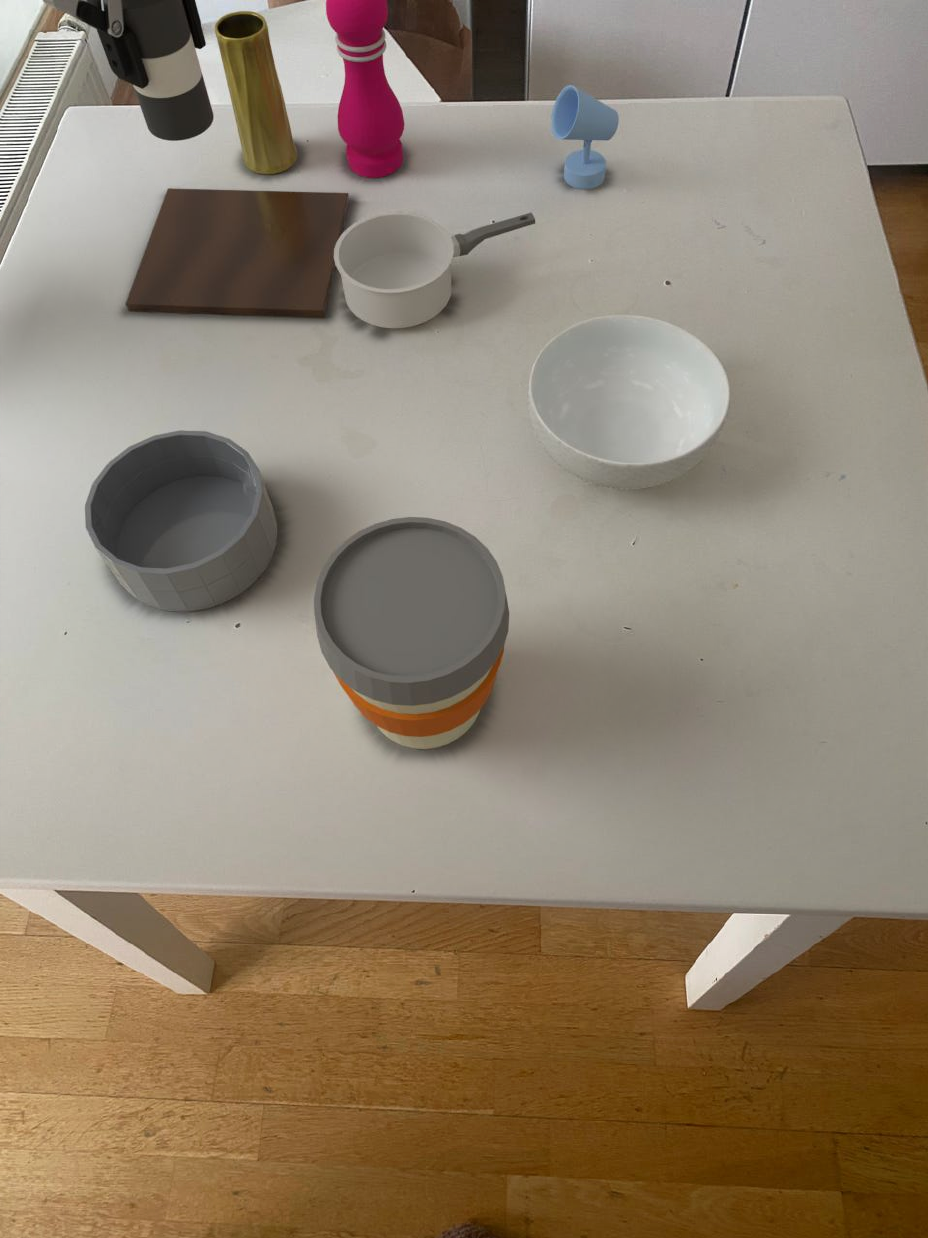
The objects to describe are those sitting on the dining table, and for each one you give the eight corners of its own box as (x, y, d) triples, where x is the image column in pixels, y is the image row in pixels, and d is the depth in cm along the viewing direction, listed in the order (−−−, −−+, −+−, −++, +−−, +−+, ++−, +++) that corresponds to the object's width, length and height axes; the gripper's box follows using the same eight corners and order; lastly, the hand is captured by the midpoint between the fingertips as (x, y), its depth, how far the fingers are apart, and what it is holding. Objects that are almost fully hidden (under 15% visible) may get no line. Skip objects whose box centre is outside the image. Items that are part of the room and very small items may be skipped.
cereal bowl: (635, 550, 75) (648, 499, 69) (487, 447, 80) (486, 392, 74) (750, 432, 80) (772, 375, 74) (604, 344, 86) (613, 284, 80)
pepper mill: (334, 151, 102) (302, -49, 84) (393, 134, 103) (373, -66, 86) (356, 188, 99) (327, -12, 81) (417, 170, 100) (401, -31, 82)
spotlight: (558, 197, 97) (618, 183, 98) (565, 106, 88) (630, 92, 89) (543, 170, 99) (601, 157, 100) (548, 78, 90) (611, 65, 91)
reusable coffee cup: (503, 620, 72) (505, 510, 59) (510, 769, 66) (515, 684, 53) (347, 625, 72) (314, 516, 59) (339, 775, 66) (302, 690, 53)
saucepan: (551, 299, 89) (555, 252, 84) (359, 350, 87) (351, 305, 82) (511, 228, 95) (513, 180, 90) (329, 274, 92) (320, 227, 87)
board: (128, 311, 90) (125, 303, 89) (170, 195, 99) (167, 187, 98) (324, 318, 89) (322, 310, 88) (349, 200, 98) (348, 192, 97)
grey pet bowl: (93, 607, 73) (62, 568, 68) (136, 471, 80) (111, 426, 75) (260, 616, 73) (242, 577, 67) (290, 478, 79) (275, 433, 74)
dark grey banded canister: (139, 139, 73) (92, 7, 65) (157, 99, 76) (113, -33, 67) (205, 141, 73) (166, 9, 64) (220, 101, 76) (185, -31, 67)
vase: (264, 182, 99) (232, 49, 87) (233, 157, 102) (197, 23, 89) (308, 158, 101) (283, 24, 89) (277, 134, 104) (248, 0, 91)
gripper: (125, -302, 59) (203, -2, 75) (-88, -206, 52) (47, 100, 68) (208, -280, 57) (270, 25, 72) (-4, -176, 50) (115, 134, 66)
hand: (161, 59), depth 70 cm, fingers closed on dark grey banded canister, 5 cm apart
